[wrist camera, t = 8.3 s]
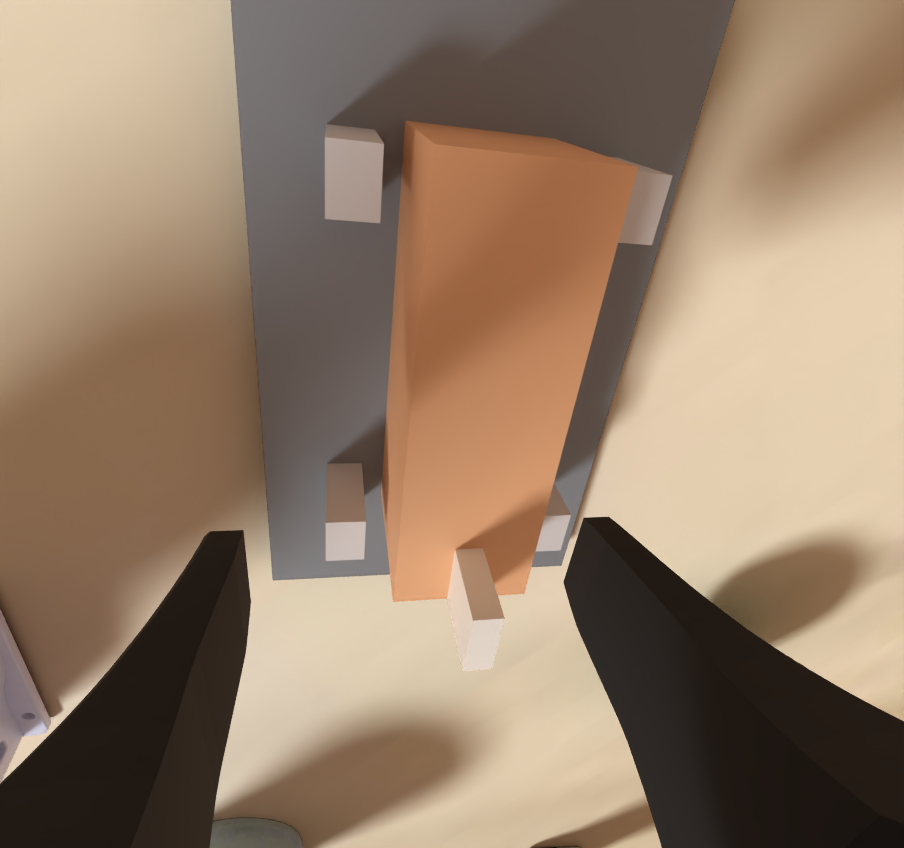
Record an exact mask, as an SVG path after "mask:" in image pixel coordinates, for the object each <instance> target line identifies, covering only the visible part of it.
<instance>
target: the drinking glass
mask: <svg viewBox="0 0 904 848" xmlns="http://www.w3.org/2000/svg"><path fill="white" fill-rule="evenodd" d="M210 848H302V841H301V837H300V835H299V834H298V833H297V831H296V830H295V829H293V828H292V827H290V826H288V825H286V824H284V823H281V822H278V821H273V820H268V819H261V818H232V819H224V820H219V821H214V822H213V825H212V833H211V841H210Z"/></svg>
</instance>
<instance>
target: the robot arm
mask: <svg viewBox="0 0 904 848" xmlns="http://www.w3.org/2000/svg"><path fill="white" fill-rule="evenodd" d="M564 585H565V589H566V593H567V596H568V600H569V603H570V607H571V610H572V613H573V616H574V619H575V622H576V625H577V628H578V630H579V632H580V635H581V637H582V639H583V641H584V644H585V646H586V648H587V651H588V653H589V655H590V657H591V660H592V662H593V664H594V666H595V668H596V671H597V673H598V675H599V677H600V679H601V682H602V684H603V686H604V688H605V691H606V693H607V695H608V697H609V699H610V702H611V704H612V706H613V708H614V710H615V713H616V715H617V717H618V719H619V722H620V724H621V727H622V729H623V732H624V734H625V737H626V739H627V741H628V744H629V747H630V750H631V753H632V756H633V759H634V762H635V765H636V768H637V771H638V773H639V776H640V779H641V782H642V785H643V788H644V791H645V794H646V798H647V801H648V804H649V807H650V810H651V813H652V817H653V820H654V823H655V826H656V829H657V833H658V836H659V839H660V842H661V846H662V848H904V721H902V720H900V719H898V718H896V717H894V716H892V715H890V714H888V713H886V712H884V711H882V710H880V709H878V708H876V707H875V706H873V705H871V704H869V703H867V702H865V701H863V700H861V699H860V698H858V697H856V696H854V695H852V694H850V693H849V692H847V691H845V690H843V689H841V688H840V687H838V686H836V685H834V684H833V683H831V682H829V681H828V680H826V679H824V678H823V677H821V676H819V675H817V674H816V673H814V672H812V671H811V670H809V669H807V668H806V667H804V666H802V665H801V664H799V663H798V662H796V661H794V660H793V659H791V658H789V657H788V656H786V655H785V654H783V653H782V652H780V651H779V650H777V649H776V648H774V647H773V646H771V645H770V644H768V643H767V642H765V641H764V640H762V639H761V638H759V637H758V636H756V635H755V634H753V633H752V632H751V631H749V630H748V629H746V628H745V627H743V626H742V625H741V624H739V623H738V622H737V621H735V620H734V619H733V618H731V617H730V616H729V615H727V614H726V613H725V612H723V611H722V610H721V609H719V608H718V607H717V606H715V605H714V604H713V603H711V602H710V601H709V600H708V599H706V598H705V597H704V596H703V595H701V594H700V593H699V592H698V591H696V590H695V589H694V588H693V587H691V586H690V585H689V584H688V583H686V582H685V581H684V580H683V579H682V578H680V577H679V576H678V575H677V574H676V573H674V572H673V571H672V570H671V569H670V568H669V567H667V566H666V565H665V564H664V563H663V562H661V561H660V560H659V559H658V558H657V557H656V556H654V555H653V554H652V553H651V552H650V551H649V550H648V549H646V548H645V547H644V546H643V545H642V544H641V543H639V542H638V541H637V540H636V539H635V538H634V537H633V536H631V535H630V534H629V533H628V532H627V531H625V530H624V529H623V528H622V527H621V526H620V525H618V524H617V523H616V522H615V521H613V520H612V519H611V518H610V517H592V518H584V519H583V522H582V525H581V528H580V531H579V535H578V538H577V541H576V544H575V547H574V551H573V554H572V557H571V560H570V563H569V567H568V570H567V573H566V576H565V579H564ZM250 605H251V599H250V589H249V580H248V570H247V561H246V551H245V542H244V532H243V530H238V531H211V532H209V533H208V534H207V535H205V536H204V538H203V540H202V542H201V543H200V545H199V547H198V549H197V550H196V552H195V553H194V555H193V557H192V558H191V560H190V561H189V563H188V565H187V566H186V568H185V569H184V571H183V572H182V574H181V575H180V577H179V578H178V580H177V581H176V583H175V584H174V586H173V587H172V589H171V590H170V591H169V593H168V594H167V596H166V597H165V598H164V600H163V601H162V603H161V604H160V605H159V607H158V608H157V609H156V611H155V612H154V614H153V615H152V616H151V618H150V619H149V621H148V622H147V623H146V624H145V626H144V627H143V628H142V630H141V631H140V632H139V633H138V635H137V636H136V637H135V638H134V640H133V641H132V642H131V643H130V645H129V646H128V647H127V648H126V650H125V651H124V652H123V653H122V655H121V656H120V657H119V658H118V660H117V661H116V662H115V663H114V665H113V666H112V667H111V668H110V669H109V671H108V672H107V673H106V674H105V675H104V676H103V678H102V679H101V680H100V681H99V682H98V683H97V684H96V686H95V687H94V688H93V689H92V690H91V691H90V692H89V693H88V695H87V696H86V697H85V698H84V699H83V700H82V701H81V702H80V703H79V704H78V706H77V707H76V708H75V709H74V710H73V711H72V712H71V713H70V714H69V715H68V716H67V717H66V718H65V720H64V721H63V722H62V723H61V724H60V725H59V726H58V727H57V728H56V729H55V730H54V731H53V732H52V733H51V734H50V735H49V736H48V737H47V738H46V739H45V740H44V741H43V742H42V743H41V744H40V745H39V746H38V747H37V748H36V749H35V750H34V751H33V752H32V753H31V754H30V755H29V756H28V757H27V758H26V759H25V760H24V761H23V762H22V763H21V764H20V765H19V766H18V767H17V768H16V769H15V770H14V771H13V772H12V773H11V774H10V775H9V776H8V777H7V778H5V779H4V780H3V781H2V779H3V777H4V775H5V773H6V771H7V769H8V766H9V764H10V762H11V760H12V758H13V756H14V754H15V751H16V749H17V747H18V745H19V743H20V741H21V738H22V736H31V735H39V734H43V733H45V732H46V731H47V730H48V728H49V726H50V724H51V720H50V717H49V715H48V713H47V711H46V709H45V706H44V704H43V702H42V700H41V698H40V695H39V693H38V691H37V689H36V687H35V684H34V682H33V680H32V678H31V676H30V673H29V671H28V669H27V667H26V665H25V662H24V660H23V658H22V656H21V654H20V651H19V649H18V647H17V645H16V643H15V640H14V638H13V636H12V634H11V632H10V629H9V627H8V625H7V623H6V621H5V618H4V616H3V614H2V612H1V610H0V848H210V841H211V833H212V825H213V816H214V808H215V800H216V794H217V788H218V782H219V776H220V771H221V766H222V761H223V757H224V752H225V747H226V743H227V738H228V733H229V729H230V724H231V719H232V715H233V710H234V705H235V701H236V696H237V691H238V687H239V682H240V677H241V673H242V668H243V663H244V658H245V653H246V645H247V636H248V626H249V616H250Z"/></svg>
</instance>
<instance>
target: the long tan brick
mask: <svg viewBox="0 0 904 848" xmlns="http://www.w3.org/2000/svg"><path fill="white" fill-rule="evenodd" d="M637 170H638V167H637V166H634V165H631V164H628V163H625V162H622V161H619V160H616V159H613V158H610V157H607V156H604V155H601V154H598V153H595V152H592V151H590V150H587V149H584V148H581V147H578V146H575V145H572V144H569V143H566V142H563V141H560V140H557V139H554V138H546V137H538V136H530V135H521V134H513V133H505V132H496V131H488V130H480V129H471V128H463V127H455V126H446V125H438V124H430V123H421V122H413V121H405V129H404V144H403V160H402V176H401V191H400V207H399V222H398V238H397V253H396V269H395V285H394V300H393V316H392V331H391V347H390V362H389V378H388V393H387V409H386V425H385V440H384V456H383V471H382V487H381V496H382V505H383V514H384V523H385V532H386V541H387V550H388V559H389V569H390V578H391V587H392V596H393V602H398V601H414V600H430V599H446V598H447V600H448V605H449V610H450V614H451V619H452V624H453V629H454V633H455V638H456V643H457V647H458V652H459V657H460V662H461V666H462V671H473V670H484V669H492V667H493V663H494V659H495V655H496V651H497V647H498V643H499V639H500V635H501V631H502V627H503V623H504V619H505V618H504V615H503V611H502V608H501V605H500V602H499V598H498V595H511V594H524V592H525V589H526V585H527V581H528V577H529V574H530V570H531V566H532V562H533V559H534V555H535V551H536V548H537V544H538V540H539V536H540V533H541V529H542V525H543V521H544V518H545V514H546V510H547V506H548V503H549V499H550V495H551V491H552V488H553V484H554V480H555V477H556V473H557V469H558V465H559V462H560V458H561V454H562V450H563V447H564V443H565V439H566V435H567V432H568V428H569V424H570V421H571V417H572V413H573V409H574V406H575V402H576V398H577V394H578V391H579V387H580V383H581V379H582V376H583V372H584V368H585V364H586V361H587V357H588V353H589V350H590V346H591V342H592V338H593V335H594V331H595V327H596V323H597V320H598V316H599V312H600V308H601V305H602V301H603V297H604V293H605V290H606V286H607V282H608V279H609V275H610V271H611V267H612V264H613V260H614V256H615V252H616V249H617V245H618V241H619V237H620V234H621V230H622V226H623V222H624V219H625V215H626V211H627V208H628V204H629V200H630V196H631V193H632V189H633V185H634V181H635V178H636V174H637Z"/></svg>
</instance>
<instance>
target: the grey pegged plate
mask: <svg viewBox="0 0 904 848" xmlns="http://www.w3.org/2000/svg"><path fill="white" fill-rule="evenodd" d="M734 1H735V0H231V13H232V27H233V40H234V54H235V68H236V82H237V95H238V109H239V123H240V137H241V150H242V164H243V178H244V192H245V205H246V219H247V233H248V246H249V260H250V274H251V288H252V301H253V315H254V329H255V343H256V356H257V370H258V384H259V398H260V411H261V425H262V439H263V453H264V466H265V480H266V494H267V507H268V521H269V535H270V549H271V562H272V576H273V580H290V579H309V578H329V577H348V576H368V575H387V574H390V569H389V559H388V550H387V541H386V532H385V523H384V514H383V505H382V496H381V487H382V471H383V456H384V440H385V425H386V409H387V393H388V378H389V362H390V347H391V331H392V316H393V300H394V285H395V269H396V253H397V238H398V222H399V207H400V191H401V176H402V160H403V144H404V129H405V121H413V122H421V123H430V124H438V125H446V126H455V127H463V128H471V129H480V130H488V131H496V132H505V133H513V134H521V135H530V136H538V137H546V138H554V139H557V140H560V141H563V142H566V143H569V144H572V145H575V146H578V147H581V148H584V149H587V150H590V151H592V152H595V153H598V154H601V155H604V156H607V157H610V158H613V159H616V160H619V161H622V162H625V163H628V164H631V165H634V166H637V167H638V170H637V174H636V178H635V181H634V185H633V189H632V193H631V196H630V200H629V204H628V208H627V211H626V215H625V219H624V222H623V226H622V230H621V234H620V237H619V241H618V245H617V249H616V252H615V256H614V260H613V264H612V267H611V271H610V275H609V279H608V282H607V286H606V290H605V293H604V297H603V301H602V305H601V308H600V312H599V316H598V320H597V323H596V327H595V331H594V335H593V338H592V342H591V346H590V350H589V353H588V357H587V361H586V364H585V368H584V372H583V376H582V379H581V383H580V387H579V391H578V394H577V398H576V402H575V406H574V409H573V413H572V417H571V421H570V424H569V428H568V432H567V435H566V439H565V443H564V447H563V450H562V454H561V458H560V462H559V465H558V469H557V473H556V477H555V480H554V484H553V488H552V491H551V495H550V499H549V503H548V506H547V510H546V514H545V518H544V521H543V525H542V529H541V533H540V536H539V540H538V544H537V548H536V551H535V555H534V559H533V562H532V566H531V567H543V566H561V565H562V562H563V559H564V556H565V552H566V549H567V546H568V542H569V539H570V536H571V533H572V529H573V526H574V523H575V520H576V516H577V513H578V510H579V507H580V503H581V500H582V497H583V494H584V490H585V487H586V484H587V481H588V477H589V474H590V471H591V467H592V464H593V461H594V458H595V454H596V451H597V448H598V445H599V441H600V438H601V435H602V432H603V428H604V425H605V422H606V419H607V415H608V412H609V409H610V406H611V402H612V399H613V396H614V393H615V389H616V386H617V383H618V379H619V376H620V373H621V370H622V366H623V363H624V360H625V357H626V353H627V350H628V347H629V344H630V340H631V337H632V334H633V331H634V327H635V324H636V321H637V318H638V314H639V311H640V308H641V304H642V301H643V298H644V295H645V291H646V288H647V285H648V282H649V278H650V275H651V272H652V269H653V265H654V262H655V259H656V256H657V252H658V249H659V246H660V243H661V239H662V236H663V233H664V230H665V226H666V223H667V220H668V216H669V213H670V210H671V207H672V203H673V200H674V197H675V194H676V190H677V187H678V184H679V181H680V177H681V174H682V171H683V168H684V164H685V161H686V158H687V155H688V151H689V148H690V145H691V141H692V138H693V135H694V132H695V128H696V125H697V122H698V119H699V115H700V112H701V109H702V106H703V102H704V99H705V96H706V93H707V89H708V86H709V83H710V80H711V76H712V73H713V70H714V67H715V63H716V60H717V57H718V53H719V50H720V47H721V44H722V40H723V37H724V34H725V31H726V27H727V24H728V21H729V18H730V14H731V11H732V8H733V5H734Z"/></svg>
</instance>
